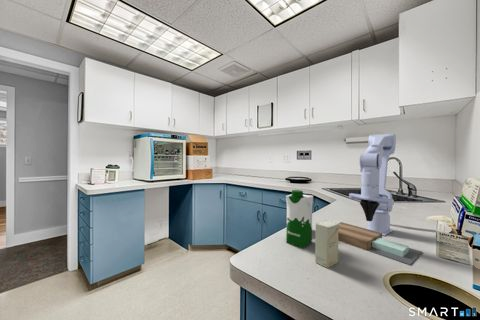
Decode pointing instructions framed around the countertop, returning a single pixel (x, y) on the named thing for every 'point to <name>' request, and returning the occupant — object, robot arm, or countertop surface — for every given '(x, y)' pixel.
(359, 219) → the countertop surface
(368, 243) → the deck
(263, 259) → the countertop surface
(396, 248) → the mint green flat block
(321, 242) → the skincare box
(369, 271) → the countertop surface
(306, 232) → the milk carton
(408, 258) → the mat
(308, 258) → the countertop surface
